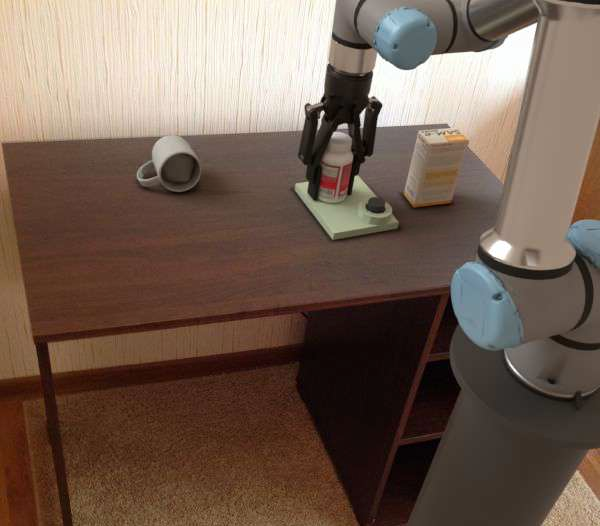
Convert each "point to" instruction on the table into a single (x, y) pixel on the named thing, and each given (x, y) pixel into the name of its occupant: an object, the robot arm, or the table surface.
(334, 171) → the pill bottle
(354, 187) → the scale
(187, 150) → the ceramic mug
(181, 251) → the table surface
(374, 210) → the button
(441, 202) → the supplement box
